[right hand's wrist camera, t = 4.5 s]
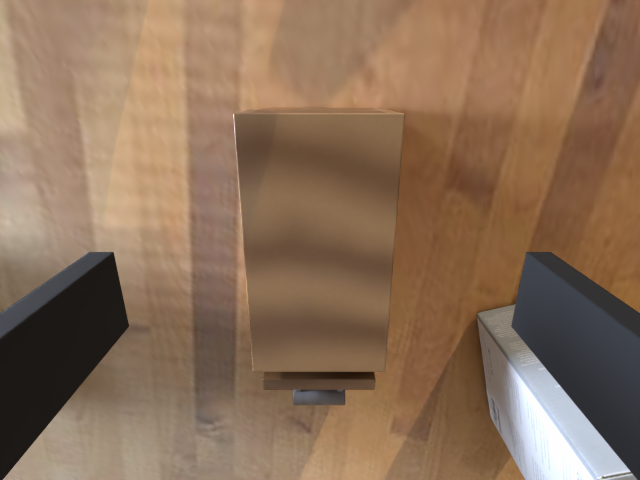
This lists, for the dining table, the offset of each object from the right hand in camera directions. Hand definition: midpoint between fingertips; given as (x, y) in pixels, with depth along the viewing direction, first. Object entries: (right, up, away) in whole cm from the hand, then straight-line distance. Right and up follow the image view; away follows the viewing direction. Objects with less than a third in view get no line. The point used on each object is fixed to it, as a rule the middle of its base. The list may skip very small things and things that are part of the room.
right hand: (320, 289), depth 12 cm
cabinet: (0, +4, +26) cm, 26 cm away
